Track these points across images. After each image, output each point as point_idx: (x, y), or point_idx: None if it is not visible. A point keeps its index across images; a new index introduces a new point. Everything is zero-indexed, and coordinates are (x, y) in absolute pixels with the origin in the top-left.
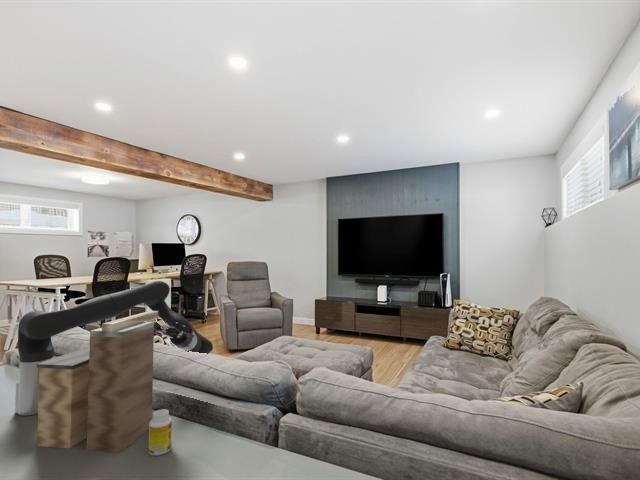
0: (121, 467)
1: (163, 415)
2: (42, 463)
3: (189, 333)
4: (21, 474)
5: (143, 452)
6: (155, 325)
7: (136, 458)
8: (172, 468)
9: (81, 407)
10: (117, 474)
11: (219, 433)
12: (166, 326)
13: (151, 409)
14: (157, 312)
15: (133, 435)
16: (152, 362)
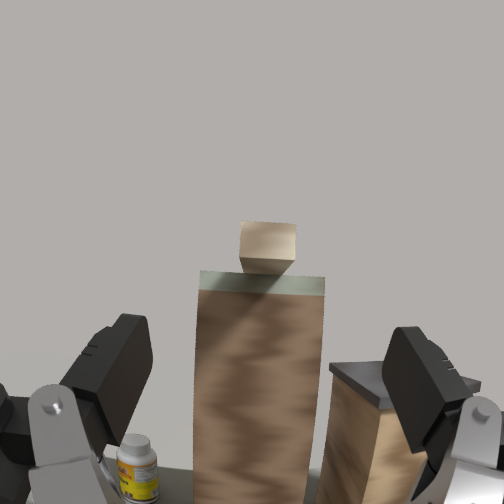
0: (186, 477)
1: (128, 434)
2: (315, 480)
3: (4, 460)
4: (316, 468)
5: (168, 496)
6: (396, 367)
7: (173, 488)
8: (111, 464)
9: (329, 463)
10: (184, 469)
11: (32, 501)
12: (441, 488)
13: None
14: (241, 230)
15: None
16: (194, 417)
